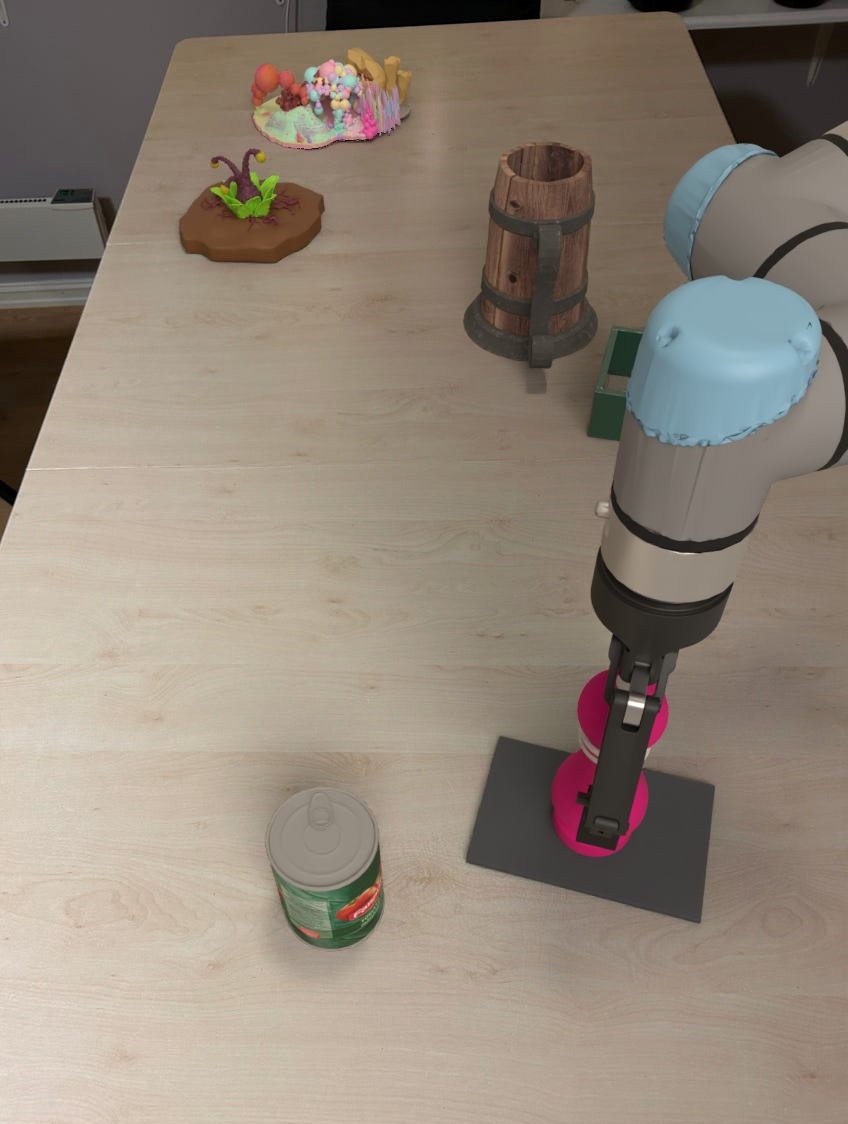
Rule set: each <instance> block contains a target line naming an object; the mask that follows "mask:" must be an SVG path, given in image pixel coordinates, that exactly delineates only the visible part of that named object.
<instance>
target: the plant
mask: <svg viewBox="0 0 848 1124" xmlns="http://www.w3.org/2000/svg"><path fill="white" fill-rule="evenodd" d="M252 155H253V157H254V159H255V160H256V162H257V163H260V164H264V163H266V160H267V155H266V154H265V152H264V151H262V150H261V149H258V148H253V147H252V148H249V149H248V150H247V151H245V154H244V156H243V158H242V162H241V164H242V165H241V170H240V169H239V168H238V166H237V165H236V164H235V163H234V162H233V161H232V160H230V159H229V158H227V157H225V156H223V155H217V156H213V157H212V158H211V159H210V161H209V165H210V167H211V168H212V169H217V168H218V167H219V166H220V162H224V164H226V165H227V166H228V168H229V169H230V170H231V171H232V172H231V173H233V175H231V176H229V177H228V178H227V179H223V181H219V182H217V183H214V184H211V185H210V186H208V187H206V188H205V189H204V190H203V191H202V192H201V193H200V194H199V196H197V197H196V198H195V199H194V201H193V202H192V204H190V206H189V208H188V209H187V211H186V213H184V214H183V215H182V216H181V217H180V218H179V220H178V225H179V226H178V233H179V237H180V241H181V243H182V245H183V246H184V250H185V253H186V254H200V255H203V256H205V257H207V258H208V259H209V260H210V261H213V262H249V263H250V262H251V263H266V264H267V263H270V264H271V263H273V264H275V263H278V262H279V261H281V260H282V259H284V258H285V257H287V256H289V255H290V254H292V253H294V252H298V251H300V250H302V249H303V248H305V247H306V246H308V245H309V244H310V243H311V241H312V240H313V239H314V237H316V236H317V235H318V233H319V232H320V231H321V229H322V214H323V212H325V210H324V209H326V207H325V198H324V195H323V194H321V193H319V192H316V191H314V190H313V189H309V188H307V187H304V186H302V185H300V184H297V183H295V182H288V181H287V182H285V181H281V182H278V181H279V180H280V175H279V174H274V175H271V176H269V177H268V178H265V179H259V178H258V174H257V173H256V172H255V171H251V169H250V166H249V165H250V163H249V161H250V156H252ZM250 171H251V172H250Z"/></svg>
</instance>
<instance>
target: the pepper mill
mask: <svg viewBox="0 0 848 1124" xmlns="http://www.w3.org/2000/svg"><path fill="white" fill-rule="evenodd" d="M608 672H609V668H608V669H605V670H602V671H600V672H598V673H597V674H595V675H594V676H593V677H591V678H590V679H589V680H587V682H586V683H585V685H583V688H582V690H581V692H580V694H579V696H578V700H577V706H576V716H577V721H578V723H579V728H578V729H579V730H578V742H579V746H580V749H578V750H576V751H574V752H572V753H573V754H571V755H570V756H569V757H568V758H567V759H566V760H565V761H564V762H563V763H562V765H561V766H560V767H559V769H558V771H557V773H556V776H555V778H554V781H553V784H552V790H551V795H552V803H553V806H554V810H553V825H554V828H555V830H556V833H557V835H558V836H559V838H560V839H561V840H562V842H563V843H564V844H565V845H566V846H568V847H569V848H570V849H572V850H573V851H575V852H577V853H579V854H582V855H586V856H592V857H602V856H607V855H610V854H613V853H615V852H617V851H619V850H620V849H621V848H622V847H623V846H624V845H625V844H626V843H627V841H628V840H629V837H630V835H631V832H632V831H633V830H635V829H636V828H637V826H638V825H639V824H640V823H641V821H642V820H643V818H644V815H645V813H646V808H647V804H648V788H647V783H646V779H645V776H644V774H643V772H642V771H641V775H640V779H639V783H638V787H637V791H636V794H635V798H634V802H633V806H632V810H631V814H630V818H629V823H630V826H629V830H628V831H627V833H626V835H625V836H621V835H620V838H619V841H618V844H617V847H616V850H615V851H612V850H608V849H604V848H600V847H596V846H592V845H588V844H584V843H580V842H576V841H575V840H576V835H577V831H578V827H579V823H580V819H581V815H582V811H583V807H584V806H583V805H579V804H576V799H577V794H578V791H580V792H584V793H587V791H588V787H589V784H590V785H592V783H593V779H594V774H595V770H596V765H597V760H598V756H599V751H600V747H601V742H602V738H603V733H604V729H605V724H606V720H607V715H608V711H609V705H608V704H607V703H606V702H605V700H604V690H605V685H606V681H607V676H608ZM656 683H657V682H656ZM656 683H655V684H653V685H650V686H647V693H646V695H653V694H654V692H655V688H656ZM615 687H616V688H618V689H622V690H627V691H629V687H630V683H626V682H624V681H623V680H621V678H620V676H619V668H618V672H617V677H616V681H615ZM669 715H670V706H669V703H668V698H667V695H666V694H664V698H663V702H662V706H661V710H660V713H658V714H657V716H656V719H655V722H654V726H653V729H652V732H651V736H650V740H649V744H648V747H647V751H646V755H645V759H644V761H645V760H646V759H647V758H648V756H649V755H650V752H651V749H652V747H653V746H654V745H655V744H657V742H658V741H659V740H660V739H661V738H662V736H663V735H664V732H665V730H666V729H667V726H668V723H669Z"/></svg>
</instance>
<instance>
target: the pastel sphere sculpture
mask: <svg viewBox="0 0 848 1124" xmlns="http://www.w3.org/2000/svg"><path fill="white" fill-rule="evenodd" d="M383 61H384V62H383V68H382V67H381V66H380V64H379V63H378V62H376V61H375V60H374V59H373V58H372V56H371V54H369V53H366V52H365V51H364V50H362V49H361V47H359V46H357V47H352V48H348V50H347V52H346V55H345V64H343V63H341V62H340V61H335V60H334V59H332V58H330V59H329V60H328V61H325V62H323V63H322V64H320V65H318V66H317V67H315V66H310V67H308V68H307V69H306V70H305V71H304V74H303V79H302V83H301V85H300V84H299V83H297V82H296V80H295V79H296V78H295V75H294V74H293V72H292V71H290V70H287V69H286V70H282V71H281V72H280V73H279V71H278V69H277V68H276V66H275V65H273V64H271V63H263V64H260V66H258V67H257V68H256V71H255V73H254V81H253V82H252V85H251V89H250V90H251V93H252V96H251V103H252V104H253V105H254V108H255V110H254V111H253V113H254V114H253V115H252V120H253V122H254V127H255V128H256V129H257V131H259V132H261V135H262V137H265V138H267V140H268V141H269V142H270V143H274V144H275V143H276V144H277V145H279V146H281V147H282V148H288V147H291V148H290V149H297V148H300V149H299V150H302V149H301V148H304V149H303V150H305V149H311V148H318V147H322V146H324V145H327V144H329V143H330V142H333V141H334V140H339V141H343V140H342V139H346V140H348V139H349V140H354V139H362V140H363V139H369V140H368V141H371V140H372V139H374V137H375V136H377V135H378V134H377V133H380V134H379V137H380V136H381V137H382V134H384V133H386V134H388V133H390V134H391V131H392V129H393V131H396V125H397V127H398V126H399V125H401V119H404V118H406V117H407V116H408V115H409V113H410V112H411V111H412V109H411V108H410V107H411V105H410V104H409V103H408V102H406V101H404V100H405V99H406V97H407V95H408V92H409V89H410V86H411V81H412V75H413V71H404V69H401V70H400V66H401V58H399V57H398V56H396V55H390V56H389V57H388V58H384V60H383ZM279 86H280V87H281V88H282V90H281V91H280V95H277V96H275V97H272V98H271V99H269V100H267V101H265V102H264V98H266V97H267V95H268V94H271V93H274V92H275V91H276V90H277V89H278V88H279ZM263 102H264V103H263ZM401 126H402V125H401ZM399 127H400V126H399ZM391 128H392V129H391ZM381 132H382V133H381ZM387 132H388V133H387ZM373 136H374V137H373ZM370 139H371V140H370ZM329 145H330V144H329Z"/></svg>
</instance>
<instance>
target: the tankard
mask: <svg viewBox="0 0 848 1124" xmlns="http://www.w3.org/2000/svg"><path fill="white" fill-rule="evenodd" d="M593 184H594V183H593V161H592V157H591V155H590V154H589V153H588V152H587V151H584V150H582V149H579V148H576V147H572V146H571V145H569V144H566V143H562V142H556V141H534V142H527V143H524V144H521V145H518V146H516V147H514V148H512V149H510V150H508V151H506V152H504V153H502V154H501V155H500V157H499V161H498V165H497V171H496V175H495V179H494V184H493V186H492V188H491V190H490V192H489V197H488V198H489V199H488V211H487V212H488V215H489V220H488V230H487V241H486V251H485V252H486V253H485V263H484V265H483V267H482V270H481V280H480V289H481V291H480V292H479V293H478V295H476V297H475V299H473V300H472V302H471V303H470V304H469V305H468V306H467V308H466V310H465V312H464V315H463V326H464V330H465V332H466V334H467V336H468V337H469V338H470V339H471V340H472V341H473V343H475V344H476V345H477V346H479V347H480V348H481V349H483V350H485V351H486V352H489V353H492V354H493V355H496V356H500V357H503V358H506V359H512V360H517V361H528V368H529V369H532V370H535V369H537V370H538V369H539V370H541V369H542V370H544V369H550V368H552V365H553V360H555V359H559V358H563V357H566V356H568V355H572V354H574V353H577V352H578V351H579V350H581V349H583V348H584V347H586V346H587V345H588V344H590V343H591V341H593V339H594V337H595V336H596V335H597V331H598V329H599V318H598V315H597V312H596V311H595V309H594V308H593V306H592V305H591V303H590V301H589V299H588V298H587V296H586V294H587V292H588V286H589V270H588V259H589V248H590V237H591V226H592V219H593V217H594V214H595V208H596V207H595V205H596V193H595V191H594V188H593V187H594V185H593Z"/></svg>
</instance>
